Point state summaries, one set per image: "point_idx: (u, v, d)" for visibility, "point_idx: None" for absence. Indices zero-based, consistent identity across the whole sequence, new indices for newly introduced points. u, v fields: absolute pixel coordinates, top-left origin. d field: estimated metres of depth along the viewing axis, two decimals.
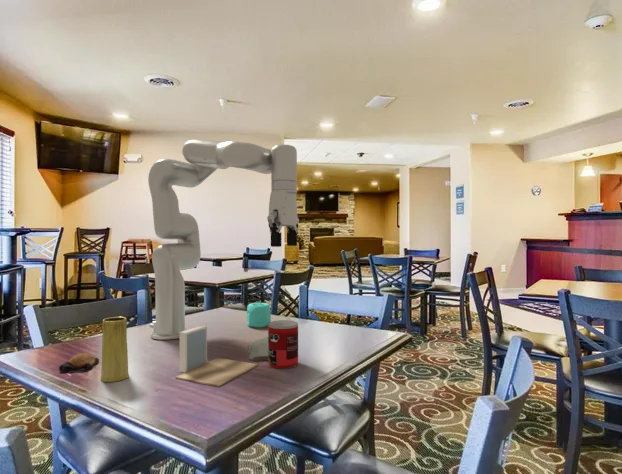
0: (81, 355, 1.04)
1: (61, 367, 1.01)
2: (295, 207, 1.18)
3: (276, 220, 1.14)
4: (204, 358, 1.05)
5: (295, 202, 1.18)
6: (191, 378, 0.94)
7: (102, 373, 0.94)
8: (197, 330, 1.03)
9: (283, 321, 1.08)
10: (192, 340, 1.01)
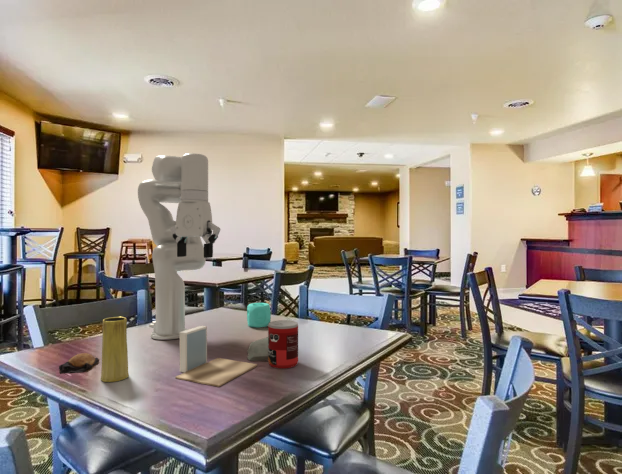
0: (81, 355, 1.04)
1: (61, 367, 1.01)
2: None
3: None
4: (204, 358, 1.05)
5: None
6: (191, 378, 0.94)
7: (102, 373, 0.94)
8: (197, 330, 1.03)
9: (283, 321, 1.08)
10: (192, 340, 1.01)
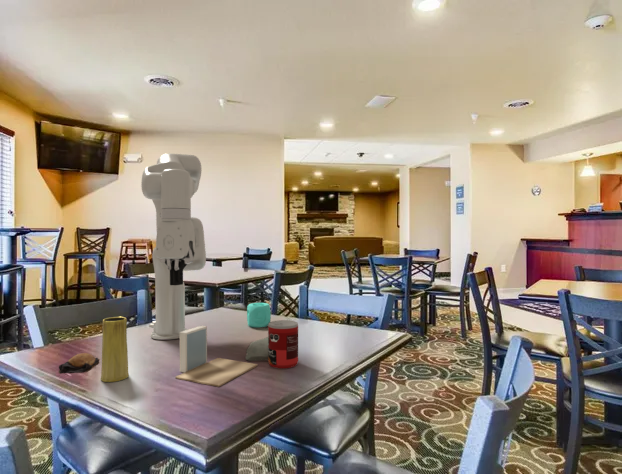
0: (81, 355, 1.04)
1: (61, 367, 1.01)
2: None
3: None
4: (204, 358, 1.05)
5: None
6: (191, 378, 0.94)
7: (102, 373, 0.94)
8: (197, 330, 1.03)
9: (283, 321, 1.08)
10: (192, 340, 1.01)
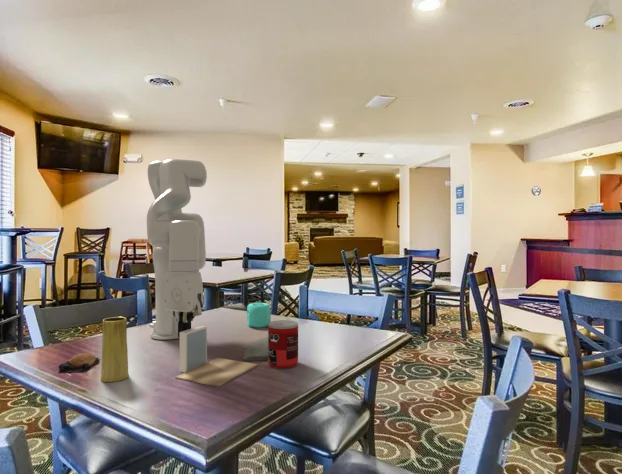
0: (81, 355, 1.04)
1: (60, 366, 1.01)
2: None
3: None
4: (204, 358, 1.05)
5: None
6: (191, 378, 0.94)
7: (102, 373, 0.94)
8: (197, 330, 1.03)
9: (283, 321, 1.08)
10: (192, 340, 1.01)
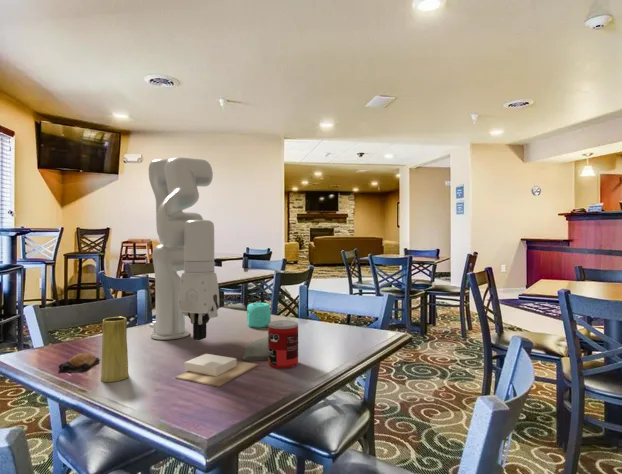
0: (81, 355, 1.04)
1: (60, 366, 1.01)
2: None
3: None
4: None
5: None
6: (191, 378, 0.94)
7: (102, 373, 0.94)
8: (226, 370, 0.99)
9: (283, 321, 1.08)
10: None
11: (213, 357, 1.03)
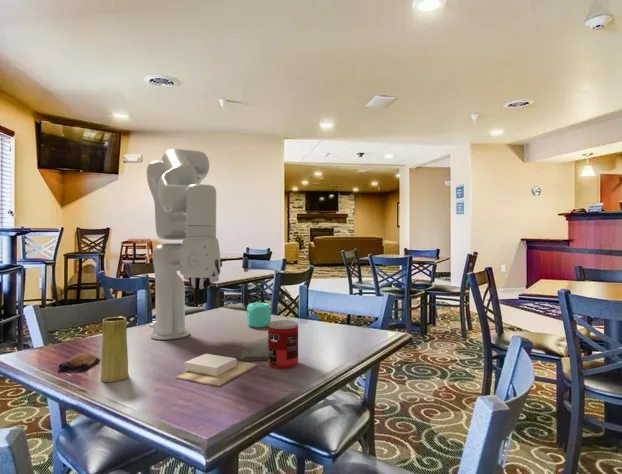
0: (81, 355, 1.04)
1: (60, 366, 1.01)
2: None
3: None
4: None
5: None
6: (191, 378, 0.94)
7: (102, 373, 0.94)
8: (226, 370, 0.99)
9: (283, 321, 1.08)
10: None
11: (213, 357, 1.03)
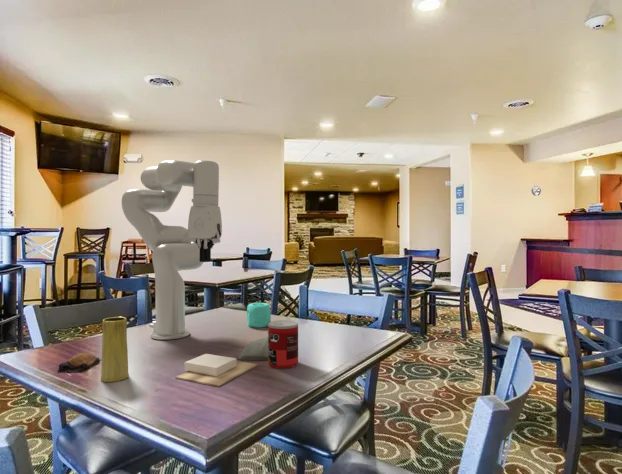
0: (81, 355, 1.04)
1: (60, 366, 1.02)
2: None
3: None
4: None
5: None
6: (191, 378, 0.94)
7: (102, 373, 0.94)
8: (226, 370, 0.99)
9: (283, 321, 1.08)
10: None
11: (213, 357, 1.03)
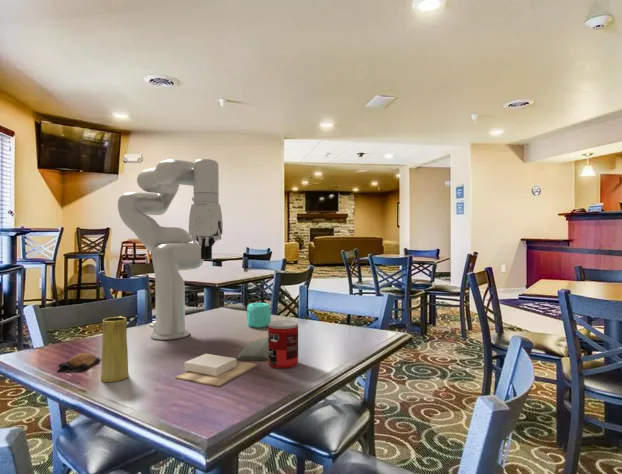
0: (81, 355, 1.04)
1: (60, 365, 1.02)
2: None
3: None
4: None
5: None
6: (191, 378, 0.94)
7: (102, 373, 0.94)
8: (226, 370, 0.99)
9: (283, 321, 1.08)
10: None
11: (213, 357, 1.03)
